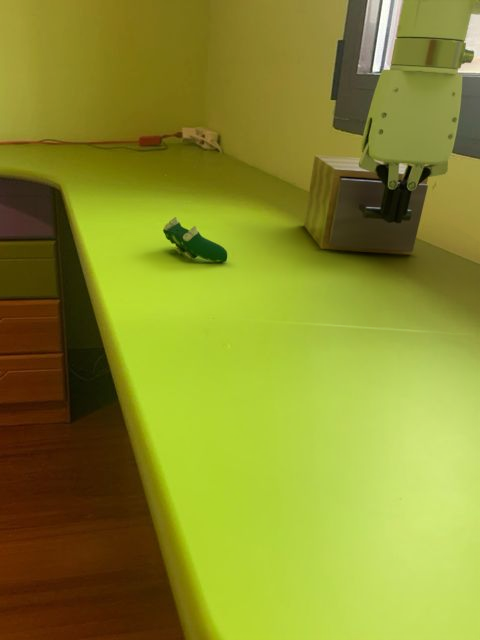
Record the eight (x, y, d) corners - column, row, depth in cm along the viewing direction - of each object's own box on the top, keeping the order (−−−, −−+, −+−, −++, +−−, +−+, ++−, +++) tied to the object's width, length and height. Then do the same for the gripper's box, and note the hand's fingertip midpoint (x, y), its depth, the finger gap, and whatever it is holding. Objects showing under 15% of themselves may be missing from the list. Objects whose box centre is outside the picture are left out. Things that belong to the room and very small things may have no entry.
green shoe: (180, 260, 95) (153, 230, 91) (198, 239, 95) (173, 208, 91) (212, 278, 88) (185, 247, 84) (232, 256, 87) (206, 223, 84)
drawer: (422, 260, 92) (439, 190, 88) (336, 254, 92) (348, 184, 88) (385, 229, 109) (397, 170, 104) (312, 224, 109) (321, 164, 104)
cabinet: (410, 254, 98) (428, 175, 93) (321, 248, 98) (334, 168, 93) (381, 231, 112) (396, 160, 107) (303, 225, 112) (314, 155, 107)
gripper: (477, 62, 83) (439, 218, 91) (353, 54, 83) (327, 211, 91) (503, 62, 76) (460, 231, 85) (369, 53, 76) (339, 223, 85)
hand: (391, 220), depth 88 cm, fingers closed
